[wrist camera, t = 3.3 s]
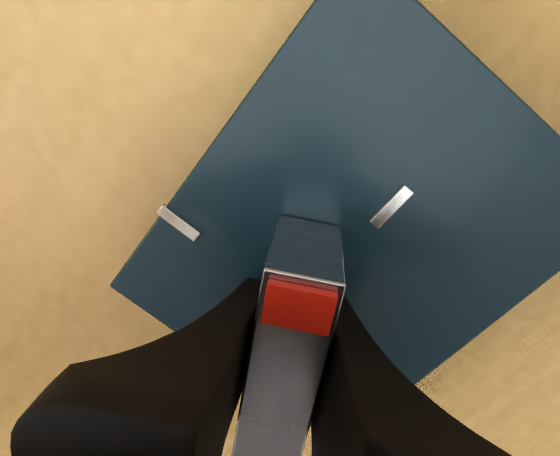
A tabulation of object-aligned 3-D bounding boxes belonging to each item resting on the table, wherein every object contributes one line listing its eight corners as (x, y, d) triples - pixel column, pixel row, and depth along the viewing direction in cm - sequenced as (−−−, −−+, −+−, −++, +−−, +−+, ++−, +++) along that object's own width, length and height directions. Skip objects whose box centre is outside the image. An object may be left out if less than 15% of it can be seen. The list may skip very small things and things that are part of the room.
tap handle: (302, 385, 14) (295, 488, 10) (251, 374, 14) (227, 474, 11) (341, 226, 12) (348, 290, 8) (280, 214, 12) (261, 273, 8)
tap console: (313, 417, 18) (311, 473, 15) (118, 280, 16) (81, 318, 14) (584, 187, 13) (645, 214, 11) (347, -35, 12) (354, -64, 9)
